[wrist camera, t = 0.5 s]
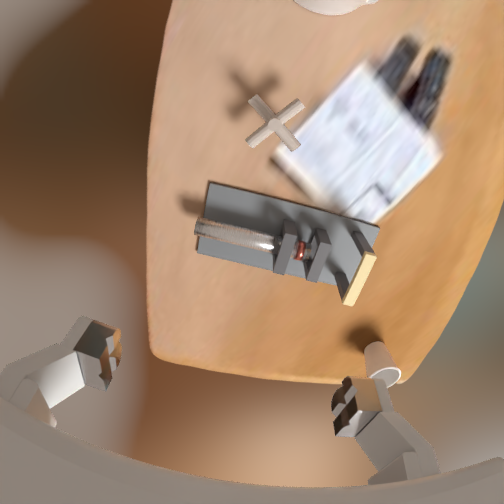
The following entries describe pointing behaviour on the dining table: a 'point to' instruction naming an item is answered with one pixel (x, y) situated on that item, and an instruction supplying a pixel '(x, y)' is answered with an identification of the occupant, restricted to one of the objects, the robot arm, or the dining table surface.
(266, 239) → the tube
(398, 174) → the dining table surface
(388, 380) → the dixie cup
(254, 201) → the collar board
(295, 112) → the pipe connector
